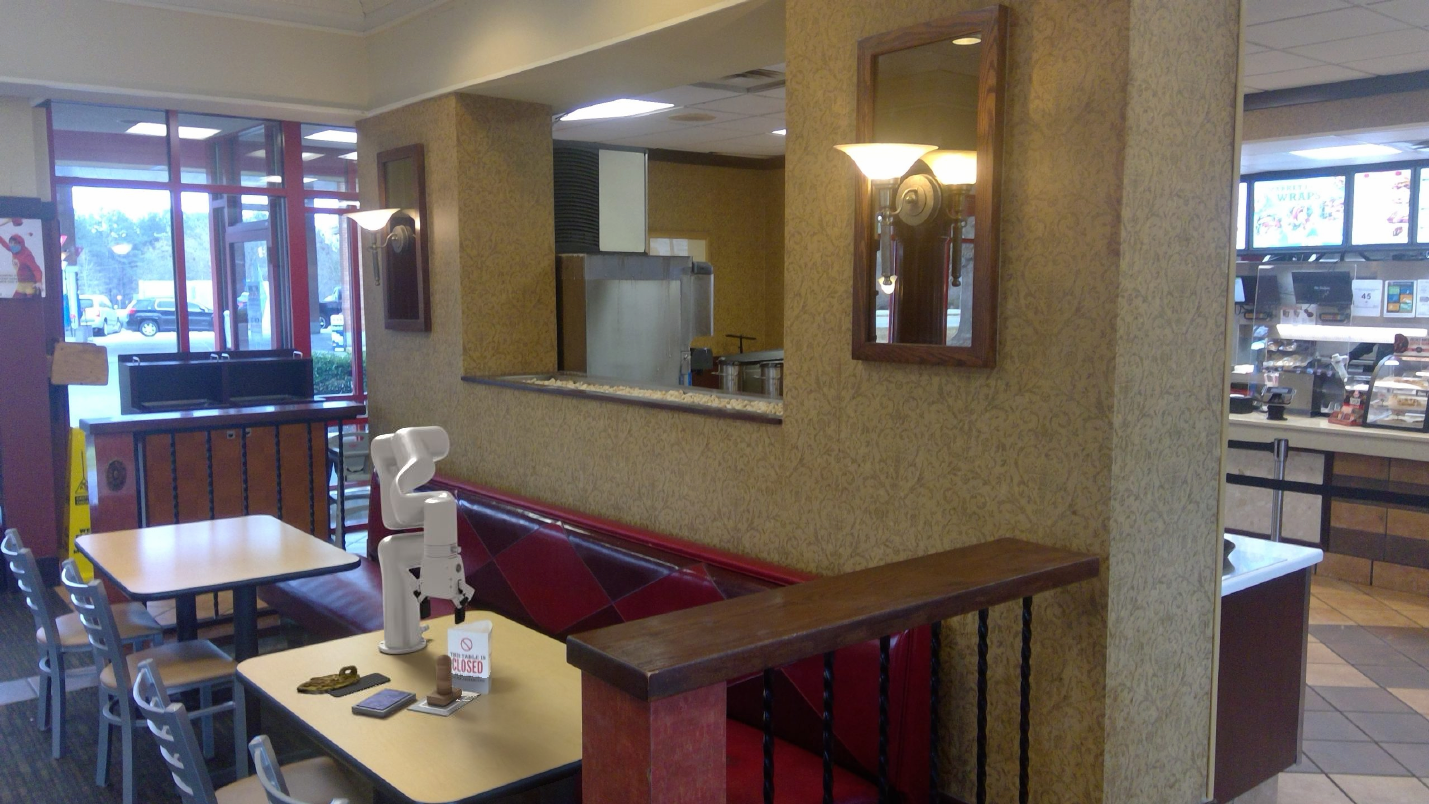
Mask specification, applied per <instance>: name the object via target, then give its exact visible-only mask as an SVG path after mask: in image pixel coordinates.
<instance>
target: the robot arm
mask: <svg viewBox="0 0 1429 804" xmlns="http://www.w3.org/2000/svg"><path fill="white" fill-rule="evenodd" d="M370 444H371V445H370V456H371V460H372V464H373V465H374V468H375V471H376V473H377V475H378V479H379V484H380V485H379V486H380V487H379V488H380V504H381V505H380V506H381V508H380V509H381V518H382V519H381V520H382V523H383V525H384V527H385V528H386V529H389V530H405V529H406V530H407V529H417V528H423V531H417V532H405V533H397V534H392V535H391V534H390V535H388V536H386V537H384V538H382V539H381V540H380V542H379V543H378V546H377V554H378V561H379V564H380V572H381V579H382V581H381V582H382V585H381V586H382V609H383V640H381V641H380V642H379V643H378V650H379V651H380V652H382V653H384V654H392V655H399V654H402V655H403V654H409V653H413V652H417V651H419V650H423V648H425V647H426V645H427V640H426V638H424V637H423V633H424V632H425V633H426V632H427V631H429V630H430V625H429V623H425V624H422V625H421V620H425V619H428V618H430V617H431V614H432V613H431V612H432V607H431V599H429V598H433V599H434V598H436V599H443V600H444V599H445V600H452V602H453V604H454V605H455V606H456V607H455V608H454V613H453V614H454V625H460V624H462V623H464V622H465V620H466V606H467V605H468V603H469V602H470V601H471V600H472V598H473V595H474V593H475V589H474V588H473V587H472V586H470V585H468V584H467V583H466V578H465V577H466V576H465V575H466V574H465V570H464V563H463V559H462V556H461V554H458V553H461V552H462V547H461V546H458V521H457V519H458V518H457V516H458V515H457V501H456V499H455V497H454V496H453V494H452V493H451V492H450V491H447V490H435V491H423V492H421V491H420V492H414V490H415V489H417V488H419V487H420V486H423V485H425V484H426V483H428V482H429V481H431V479H432V478H433V477H434V475H435V472H436V464H435V463H436V462H438V461H440V460H442V459H445V458H446V457H447V455H448V454H449V452H450V438H449V434H448V433H447V431H446V429H444V428H443V427H442V426H437V425H430V426H429V425H428V426H414V427H405V428H401V429H398V430H397V431H395V432H394V433H388V434H382V435H378V436H376V437H374V438H373V439H372V441H371V443H370ZM415 568H420V573H419V578H418V579H417V578H416V577H415V576H414V575H413V573H412V572H410V571H409V570H410V569H415Z"/></svg>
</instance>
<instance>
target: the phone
mask: <svg viewBox="0 0 1429 804" xmlns="http://www.w3.org/2000/svg"><path fill="white" fill-rule="evenodd" d="M386 682H387V683H389V682H391V678H390V677H388V676H386V675H384V674H381V673H380V672H374V673H370V674H366V675H364V676H360V679H359V680H358V681H357V682H355V683H354V684H352V685H350V686H347V687H344V688H341V689H337V690H332V691H327V692H326V693H325V694H328V695H329V694H330V696H331V697H333V698H342V697H344V695H345V696H348V695H347V694H349V695H351V693H352V694H354V692H355V693H357V692H361V691H364V690H368V689H370V687H371V688H373V686H374V687H376V686H375V685H377V686H380V685H383V684H385V683H386ZM379 684H380V685H379ZM367 688H368V689H367ZM363 689H364V690H363ZM360 690H361V691H360Z"/></svg>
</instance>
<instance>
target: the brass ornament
mask: <svg viewBox="0 0 1429 804" xmlns="http://www.w3.org/2000/svg"><path fill="white" fill-rule="evenodd" d="M347 671H349V672H347ZM338 672H339V673H333V674H328V675H323V676H315V677H311V678H310V679H309V680H307V681H305V682H302V683H300V684H299V685H298V686H297V687H296V690H297V692H301V693H305V694H308V695H309V694H310V695H311V694H312V695H313V694H314V695H317V694H327V693H326V692H327V691H332V690H337V689H341V688H344V687H347V686H350V685H352V684H354V683H355V682H357V681H358V680H359V679H360V677H361V675H360V674H359V673H358V668H357V666H356V665H347V666H342V667H341V668H340V669H339V671H338ZM346 672H347V673H346Z"/></svg>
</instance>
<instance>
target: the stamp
mask: <svg viewBox="0 0 1429 804" xmlns="http://www.w3.org/2000/svg"><path fill="white" fill-rule="evenodd" d="M434 664H435V676H436V680H435V682H436V685H435V686H436V690H433V692H430V693H429V694H427V695H426V697H427V705H433V706H439V707H446V706H448V705H449V704H451V703H453V702H454V701H456V700H457V699H459V698H461V695H462V690H463V688H462V687H457V686H453V673H452V672H453V671H452V669H453V668H452V666H453V665H452V664H453V660H452V658H451V656H450V655H448V654H445V653H444V654H439V656H438V657H437V658H436V660H435V663H434Z"/></svg>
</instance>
